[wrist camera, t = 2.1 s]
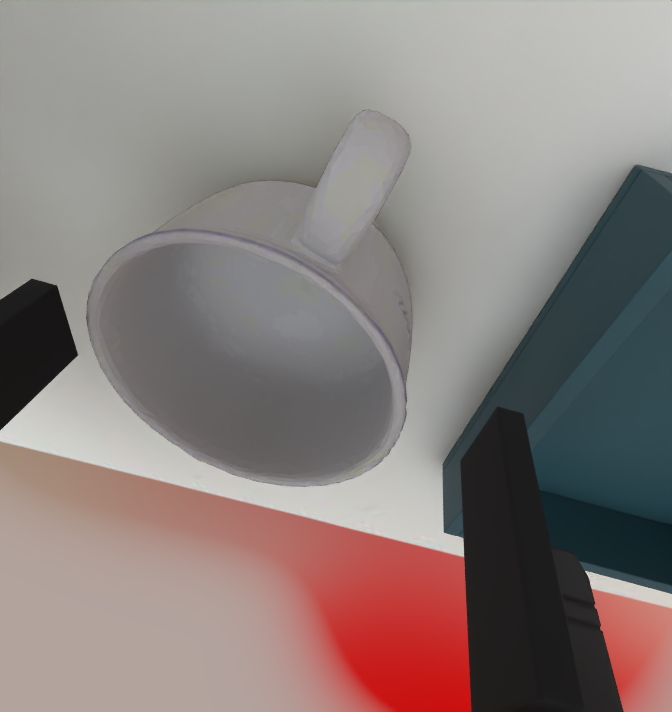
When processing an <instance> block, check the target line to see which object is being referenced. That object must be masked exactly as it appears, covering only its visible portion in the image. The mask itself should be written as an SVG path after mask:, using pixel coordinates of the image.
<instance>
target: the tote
mask: <svg viewBox="0 0 672 712" xmlns="http://www.w3.org/2000/svg"><path fill="white" fill-rule="evenodd" d="M497 406H498V407H502V408H505V409H509V410H513V411H516V412H520V413H523V414H524V418H525V423H526V428H527V433H528V438H529V443H530V447H531V452H532V457H533V462H534V467H535V472H536V476H537V481H538V486H539V491H540V496H541V501H542V505H543V510H544V515H545V520H546V525H547V530H548V534H549V539H550V544H551V546H554V547H557V548H561V549H565V550H568V551H572V552H574V553H575V555H576V557H577V559H578V560H579V562H580V564H581V565H582V567H583V569H584V570H585V571H589V572H593V573H596V574H600V575H604V576H608V577H611V578H615V579H619V580H622V581H626V582H630V583H634V584H637V585H641V586H645V587H648V588H652V589H656V590H660V591H663V592H667V593H671V594H672V174H670V173H666V172H663V171H659V170H655V169H651V168H647V167H643V166H640V165H636V166H635V167H634V168H633V170H632V171H631V173H630V174H629V176H628V177H627V179H626V181H625V182H624V184H623V185H622V187H621V188H620V190H619V191H618V193H617V195H616V196H615V198H614V199H613V201H612V202H611V204H610V205H609V207H608V208H607V210H606V212H605V213H604V215H603V216H602V218H601V219H600V221H599V222H598V224H597V226H596V227H595V229H594V230H593V232H592V233H591V235H590V236H589V238H588V240H587V241H586V243H585V244H584V246H583V247H582V249H581V250H580V252H579V253H578V255H577V257H576V258H575V260H574V261H573V263H572V264H571V266H570V267H569V269H568V271H567V272H566V274H565V275H564V277H563V278H562V280H561V281H560V283H559V285H558V286H557V288H556V289H555V291H554V292H553V294H552V295H551V297H550V298H549V300H548V302H547V303H546V305H545V306H544V308H543V309H542V311H541V312H540V314H539V316H538V317H537V319H536V320H535V322H534V323H533V325H532V326H531V328H530V330H529V331H528V333H527V334H526V336H525V337H524V339H523V340H522V342H521V343H520V345H519V347H518V348H517V350H516V351H515V353H514V354H513V356H512V357H511V359H510V361H509V362H508V364H507V365H506V367H505V368H504V370H503V371H502V373H501V375H500V376H499V378H498V379H497V381H496V382H495V384H494V385H493V387H492V389H491V390H490V392H489V393H488V395H487V396H486V398H485V399H484V401H483V402H482V404H481V406H480V407H479V409H478V410H477V412H476V413H475V415H474V416H473V418H472V420H471V421H470V423H469V424H468V426H467V427H466V429H465V430H464V432H463V434H462V435H461V437H460V438H459V440H458V441H457V443H456V444H455V446H454V447H453V449H452V451H451V452H450V454H449V455H448V457H447V458H446V460H445V461H444V463H443V515H444V533H447V534H451V535H455V536H459V537H463V515H462V493H461V471H460V460H461V459H462V457H463V456H464V454H465V453H466V451H467V450H468V449H469V447H470V446H471V444H472V443H473V441H474V440H475V438H476V437H477V435H478V434H479V432H480V431H481V429H482V428H483V427H484V425H485V424H486V422H487V421H488V419H489V418H490V416H491V415H492V413H493V412H494V410H495V409H496V407H497ZM463 538H464V537H463Z"/></svg>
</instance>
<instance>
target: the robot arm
mask: <svg viewBox="0 0 672 712" xmlns="http://www.w3.org/2000/svg"><path fill="white" fill-rule="evenodd" d="M77 356H78V353H77V350H76V347H75V344H74V340H73V337H72V334H71V330H70V327H69V324H68V320H67V317H66V314H65V310H64V307H63V304H62V300H61V297H60V294H59V290H58V287H57V285H53V284H49V283H46V282H42V281H38V280H35V279H31V280H29V281H28V282H26V283H25V284H23V285H22V286H20V287H19V288H17V289H16V290H14V291H13V292H11V293H10V294H8V295H7V296H5V297H4V298H2V299H1V300H0V430H1V429H2V428H3V427H4V426H5V425H6V424H7V423H8V422H9V421H10V420H11V419H12V418H14V417H15V416H16V415H17V414H18V413H19V412H20V411H21V410H22V409H23V408H24V407H25V406H26V405H27V404H28V403H29V402H30V401H31V400H32V399H33V398H34V397H35V396H36V395H37V394H38V393H39V392H40V391H41V390H42V389H44V388H45V387H46V386H47V385H48V384H49V383H50V382H51V381H52V380H53V379H54V378H55V377H56V376H57V375H58V374H59V373H60V372H61V371H62V370H63V369H64V368H65V367H66V366H67V365H68V364H69V363H70V362H71V361H73V360H74V359H75V358H76V357H77ZM460 471H461V493H462V515H463V537H464V559H465V580H466V602H467V624H468V646H469V668H470V690H471V709H472V710H471V712H623V708H622V704H621V701H620V697H619V693H618V689H617V685H616V682H615V678H614V674H613V670H612V666H611V662H610V658H609V655H608V651H607V647H606V643H605V639H604V636H603V632H602V631H601V630H600V626H601V624H600V620H599V616H598V612H597V609H595V607H594V604H595V601H594V597H593V593H592V589H591V586H590V582H589V578H588V576H587V574H586V572H585V571H584V569H583V567H582V565H581V564H580V562H579V560H578V559H577V557H576V555H575V553H574V552H572V551H568V550H565V549H561V548H557V547H554V546H551V544H550V539H549V534H548V530H547V525H546V520H545V515H544V510H543V505H542V501H541V496H540V491H539V486H538V481H537V476H536V472H535V467H534V462H533V457H532V452H531V447H530V443H529V438H528V433H527V428H526V423H525V418H524V414H523V413H520V412H516V411H513V410H509V409H505V408H502V407H498V406H497V407H496V409H495V410H494V412H493V413H492V415H491V416H490V418H489V419H488V421H487V422H486V424H485V425H484V427H483V428H482V429H481V431H480V432H479V434H478V435H477V437H476V438H475V440H474V441H473V443H472V444H471V446H470V447H469V449H468V450H467V451H466V453H465V454H464V456H463V457H462V459H461V460H460Z"/></svg>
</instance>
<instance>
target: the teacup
mask: <svg viewBox="0 0 672 712" xmlns="http://www.w3.org/2000/svg"><path fill="white" fill-rule="evenodd" d="M410 148H411V144H410V138H409V135H408V133H407V132H406V131H405V130H404V129H403V127H402V126H401V125H399V124H398V123H397V122H396V121H394V120H392V119H390V118H389V117H387V116H385V115H383V114H381V113H380V112H376V111H372V110H363V111H362V112H360V113H359V114H357V115H356V117H355V118H354V119H353V121H352V122H351V123H350V125H349V127H348V129H347V130H346V132H345V134H344V135H343V137H342V139H341V140H340V142H339V144H338V146H337V147H336V149H335V151H334V153H333V155H332V157H331V159H330V161H329V163H328V165H327V167H326V169H325V171H324V173H323V175H322V177H321V179H320V181H319V183H318V185H317V187H316V188H314V187H310V186H307V185H303V184H299V183H293V182H285V181H276V180H272V181H256V182H249V183H244V184H240V185H237V186H233V187H230V188H228V189H225V190H223V191H220V192H217V193H216V194H214V195H212V196H210V197H208V198H206V199H204V200H202V201H200V202H199V203H197V204H195V205H193V206H192V207H190V208H189V209H187V210H185V211H184V212H182V213H181V214H179V215H178V216H176V217H174V218H173V219H171V220H170V221H168V222H167V223H165V224H164V225H163V226H161V227H160V228H158V229H157V230H156V231H154V232H153V233H150V234H148V235H145V236H143V237H140V238H138V239H136V240H134V241H132V242H130V243H129V244H127V245H126V246H124V247H123V248H121V249H120V250H118V251H117V252H115V253H114V254H113V255H112V256H111V257H110V258H109V259H108V261H107V262H106V263H105V265H104V266H103V267H102V269H101V270H100V271H99V273H98V274H97V276H96V277H95V279H94V280H93V283H92V286H91V289H90V292H89V296H88V302H87V315H86V319H87V326H88V331H89V336H90V341H91V344H92V347H93V349H94V352H95V355H96V357H97V360H98V362H99V364H100V367H101V368H102V370H103V372H104V373H105V375H106V377H107V378H108V380H109V382H110V383H111V385H112V386H113V387H114V389H115V390H116V392H117V393H118V394H119V395H120V397H121V398H122V399H123V400H124V402H125V403H126V404H127V405H128V406H129V407H130V408H131V409H132V410H133V411H134V412H135V413H136V414H137V415H138V416H139V417H140V418H141V419H142V420H143V421H144V422H146V423H147V424H148V425H149V426H150V427H151V428H152V429H154V430H155V431H157V432H158V433H159V434H161V435H162V436H163V437H165V438H166V439H167V440H168V441H170V442H171V443H173V444H175V445H176V446H178V447H180V448H181V449H183V450H184V451H185V452H186V453H188V454H189V455H191V456H192V457H194V458H195V459H197V460H199V461H202V462H205V463H207V464H210V465H212V466H214V467H217V468H219V469H221V470H223V471H226V472H228V473H230V474H232V475H236V476H239V477H243V478H247V479H250V480H253V481H257V482H263V483H269V484H275V485H281V486H299V487H306V486H323V485H329V484H334V483H340V482H342V481H345V480H349V479H352V478H355V477H357V476H360V475H361V474H363V473H364V472H366V471H368V470H370V469H372V468H373V467H375V466H376V465H378V464H379V463H380V462H381V461H382V460H383V458H384V457H386V456H387V455H388V454H389V452H390V449H391V448H392V447H393V446H394V444H395V442H396V441H397V439H398V438H399V435H400V432H401V431H402V428H403V425H404V422H405V418H406V414H407V412H406V402H407V396H406V380H407V373H408V367H409V359H410V351H411V341H412V303H411V296H410V290H409V286H408V282H407V279H406V276H405V273H404V270H403V267H402V265H401V263H400V261H399V259H398V257H397V255H396V253H395V251H394V250H393V248H392V246H391V245H390V244H389V242H388V241H387V239H386V238H385V237H384V235H383V234H382V233H381V232H380V231H379V230H378V229H377V227H376V226H375V225H374V224H373V221H374V220H375V218H376V216H377V215H378V213H379V212H380V210H381V208H382V206H383V205H384V203H385V201H386V199H387V197H388V195H389V194H390V192H391V190H392V188H393V186H394V184H395V183H396V181H397V179H398V177H399V175H400V173H401V172H402V169H403V167H404V165H405V163H406V160H407V158H408V156H409V153H410Z"/></svg>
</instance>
